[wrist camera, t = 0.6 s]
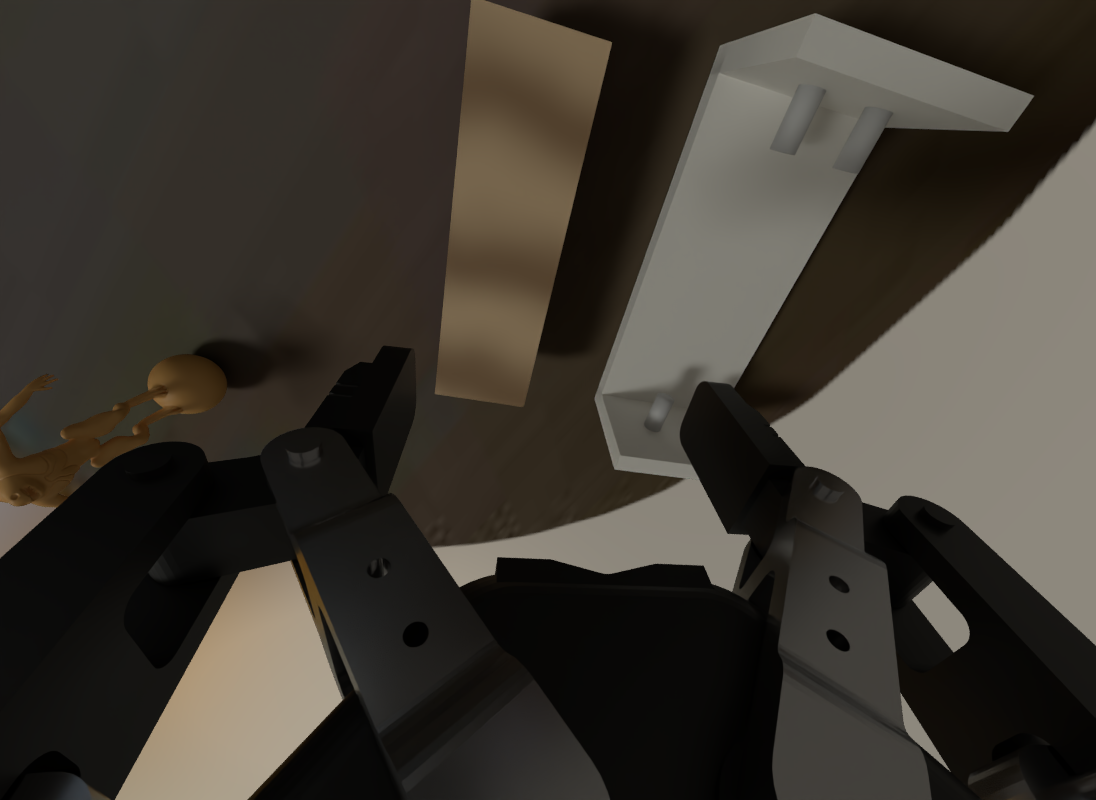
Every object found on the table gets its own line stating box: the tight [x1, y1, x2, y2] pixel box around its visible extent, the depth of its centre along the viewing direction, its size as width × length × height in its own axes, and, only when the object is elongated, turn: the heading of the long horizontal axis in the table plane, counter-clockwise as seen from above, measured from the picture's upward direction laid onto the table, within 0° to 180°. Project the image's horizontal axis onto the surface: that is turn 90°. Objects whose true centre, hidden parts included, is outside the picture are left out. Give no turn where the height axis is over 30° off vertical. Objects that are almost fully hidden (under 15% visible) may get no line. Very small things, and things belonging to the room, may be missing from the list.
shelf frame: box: [595, 13, 1034, 480], centre depth 24 cm, size 22×10×8 cm, turn 167°
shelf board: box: [435, 0, 612, 407], centre depth 22 cm, size 18×6×2 cm, turn 167°
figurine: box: [0, 354, 227, 508], centre depth 24 cm, size 8×6×12 cm
